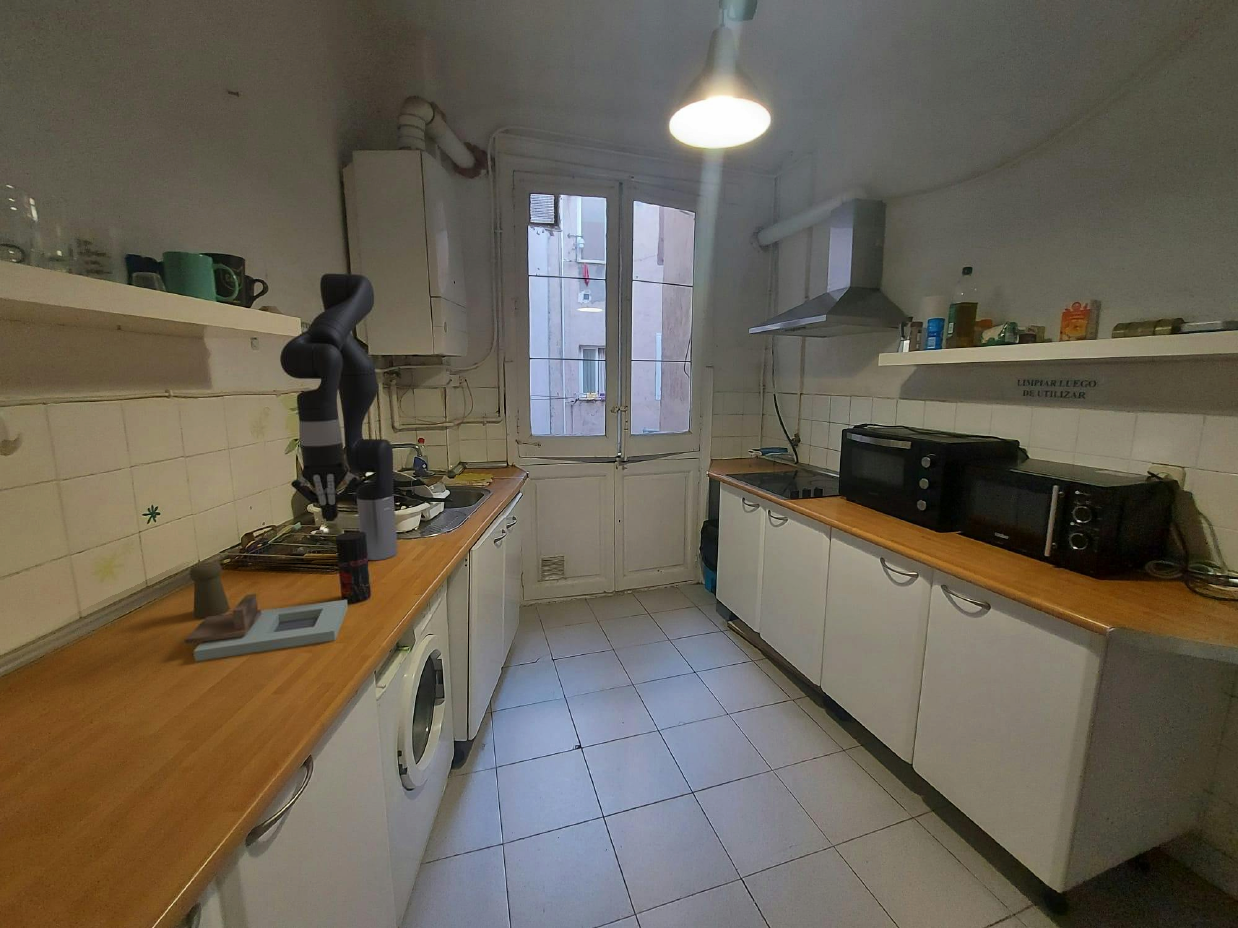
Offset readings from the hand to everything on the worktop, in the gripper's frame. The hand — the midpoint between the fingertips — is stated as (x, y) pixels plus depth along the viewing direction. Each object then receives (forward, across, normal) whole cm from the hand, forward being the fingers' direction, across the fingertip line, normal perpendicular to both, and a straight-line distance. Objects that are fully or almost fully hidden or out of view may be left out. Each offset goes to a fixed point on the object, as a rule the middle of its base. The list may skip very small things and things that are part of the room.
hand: (330, 520), depth 105 cm
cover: (+17, +17, +10) cm, 26 cm away
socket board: (+19, +9, +10) cm, 24 cm away
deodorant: (+20, -3, -2) cm, 20 cm away
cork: (+20, +25, -3) cm, 32 cm away
